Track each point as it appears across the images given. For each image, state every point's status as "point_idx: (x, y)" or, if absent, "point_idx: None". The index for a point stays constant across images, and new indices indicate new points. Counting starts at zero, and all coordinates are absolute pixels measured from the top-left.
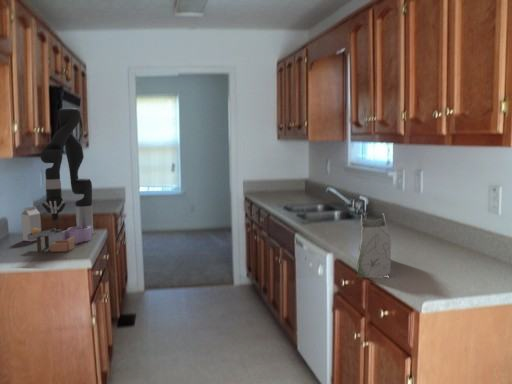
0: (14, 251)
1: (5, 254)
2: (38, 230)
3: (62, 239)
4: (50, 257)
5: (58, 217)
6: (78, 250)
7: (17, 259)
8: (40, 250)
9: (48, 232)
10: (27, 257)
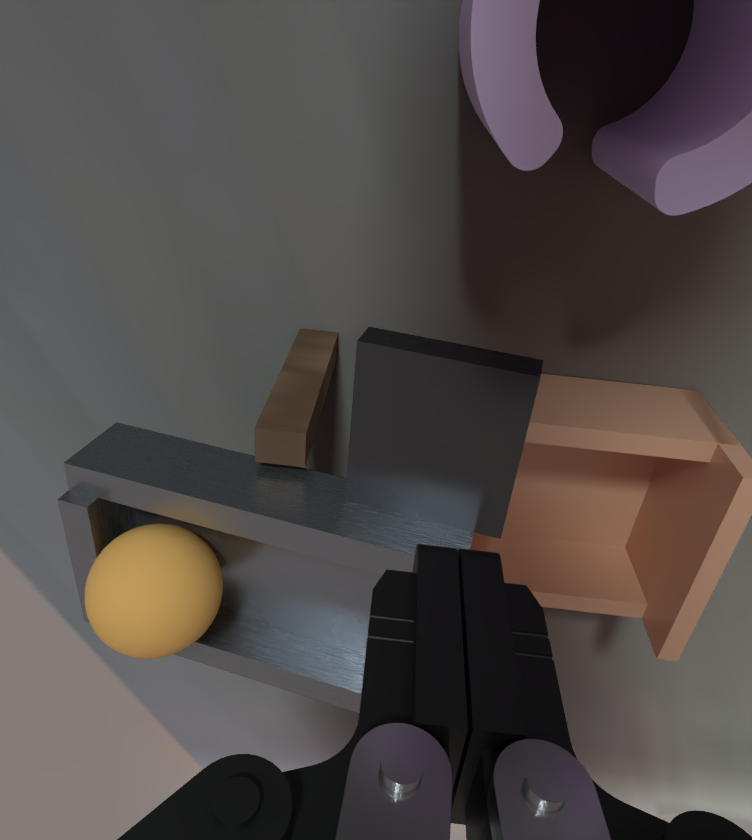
0: (17, 459)
1: (19, 561)
2: (202, 626)
3: (474, 105)
4: None
5: (545, 632)
6: (740, 537)
7: (247, 718)
8: None
9: None
10: None
